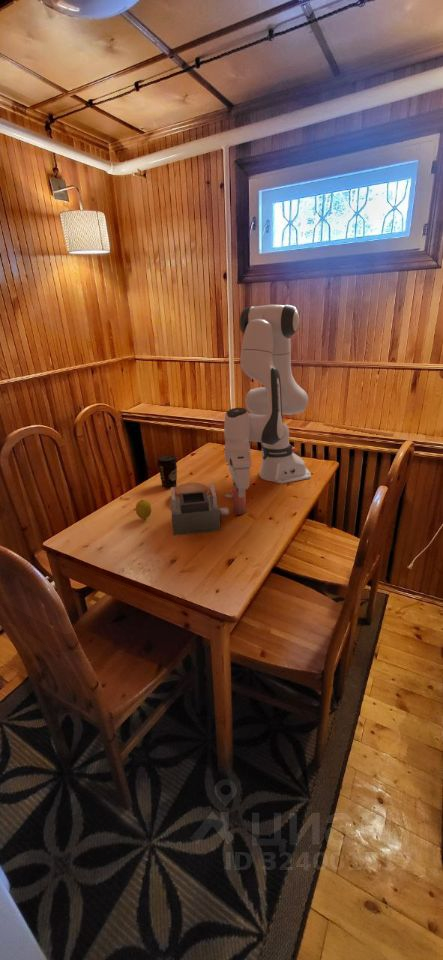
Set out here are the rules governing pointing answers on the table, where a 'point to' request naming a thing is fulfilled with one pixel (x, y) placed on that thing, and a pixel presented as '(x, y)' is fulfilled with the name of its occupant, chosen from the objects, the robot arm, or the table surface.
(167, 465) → the coffee cup
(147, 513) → the lemon
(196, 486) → the pie
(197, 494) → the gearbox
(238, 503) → the pink cylinder with stub
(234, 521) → the table surface
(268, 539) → the table surface
